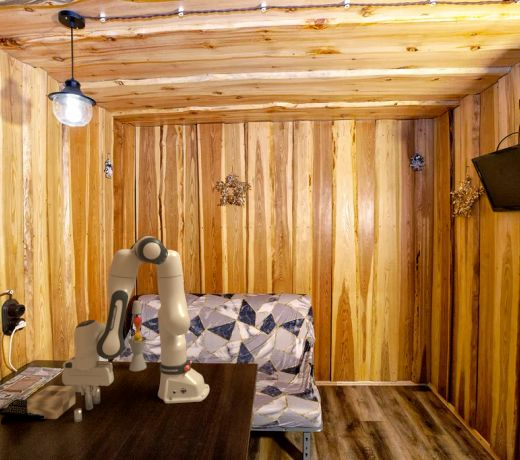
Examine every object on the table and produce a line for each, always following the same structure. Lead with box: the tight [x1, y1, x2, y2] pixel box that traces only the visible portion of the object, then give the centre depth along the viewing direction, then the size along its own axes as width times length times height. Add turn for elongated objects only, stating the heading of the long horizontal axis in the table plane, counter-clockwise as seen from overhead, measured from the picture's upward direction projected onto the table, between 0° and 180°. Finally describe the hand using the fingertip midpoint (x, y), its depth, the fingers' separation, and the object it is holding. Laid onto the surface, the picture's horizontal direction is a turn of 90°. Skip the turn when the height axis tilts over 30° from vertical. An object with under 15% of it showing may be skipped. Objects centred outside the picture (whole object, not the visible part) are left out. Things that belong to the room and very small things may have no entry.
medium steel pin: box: [93, 386, 101, 405], centre depth 149 cm, size 3×3×6 cm
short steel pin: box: [73, 407, 83, 423], centre depth 136 cm, size 3×3×4 cm
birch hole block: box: [26, 385, 76, 420], centre depth 143 cm, size 12×12×7 cm
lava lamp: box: [127, 300, 147, 372], centre depth 183 cm, size 9×9×35 cm
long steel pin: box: [84, 385, 94, 411], centre depth 142 cm, size 3×3×12 cm
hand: (88, 394), depth 142 cm, fingers closed on long steel pin, 3 cm apart
